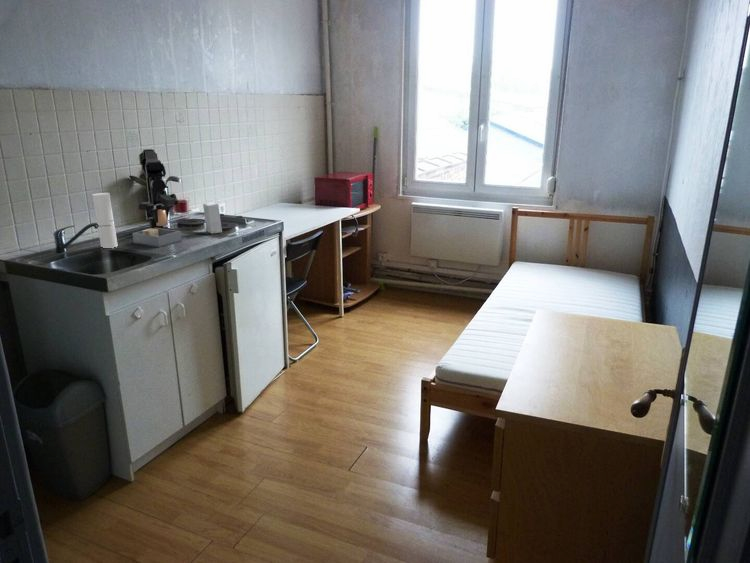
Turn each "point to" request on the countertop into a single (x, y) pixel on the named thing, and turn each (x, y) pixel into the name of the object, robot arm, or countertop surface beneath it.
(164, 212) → the terracotta cylinder
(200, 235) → the countertop surface
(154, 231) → the beech cube
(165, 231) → the tote
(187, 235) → the countertop surface
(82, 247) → the countertop surface
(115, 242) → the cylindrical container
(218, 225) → the skincare box
